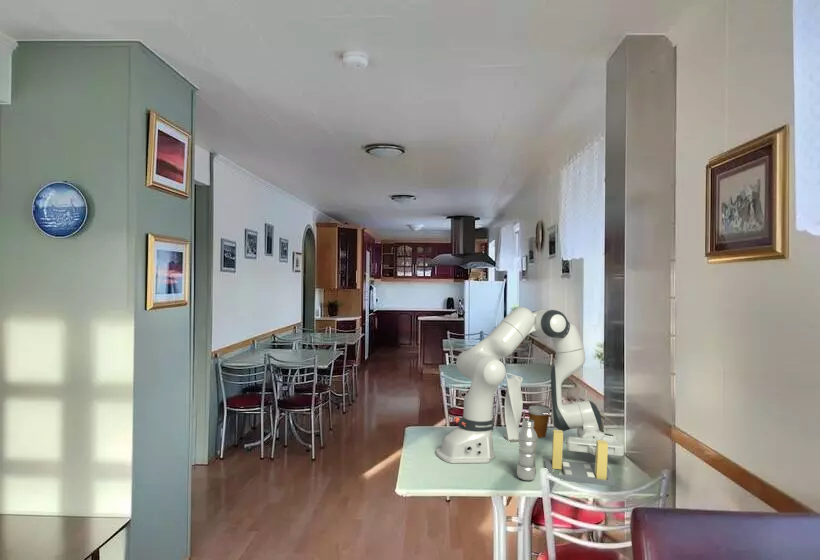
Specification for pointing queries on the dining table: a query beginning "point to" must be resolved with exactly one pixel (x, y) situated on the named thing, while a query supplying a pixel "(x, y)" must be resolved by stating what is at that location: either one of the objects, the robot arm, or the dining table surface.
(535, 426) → the disposable coffee cup
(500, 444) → the dining table surface
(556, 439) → the yellow rectangular block
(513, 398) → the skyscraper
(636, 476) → the dining table surface
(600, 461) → the yellow bar
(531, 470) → the plastic bottle
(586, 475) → the switch bank
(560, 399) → the robot arm
